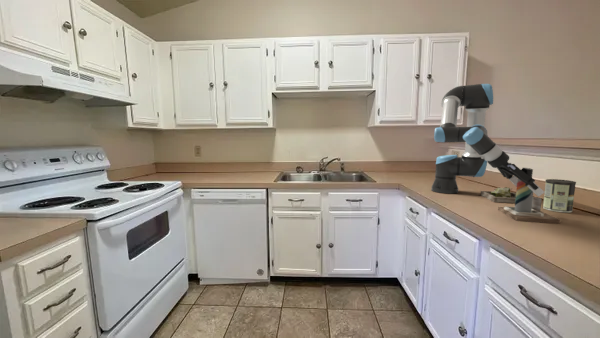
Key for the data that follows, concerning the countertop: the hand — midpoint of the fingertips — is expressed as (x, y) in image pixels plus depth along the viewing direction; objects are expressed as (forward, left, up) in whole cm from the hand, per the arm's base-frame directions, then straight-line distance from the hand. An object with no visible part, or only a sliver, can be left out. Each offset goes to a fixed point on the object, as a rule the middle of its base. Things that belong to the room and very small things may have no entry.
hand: (531, 190), depth 114 cm
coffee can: (-15, +19, -12) cm, 27 cm away
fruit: (-35, +4, -12) cm, 37 cm away
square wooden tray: (-33, +5, -11) cm, 35 cm away
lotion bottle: (0, -2, -10) cm, 10 cm away
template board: (0, -1, -11) cm, 11 cm away
